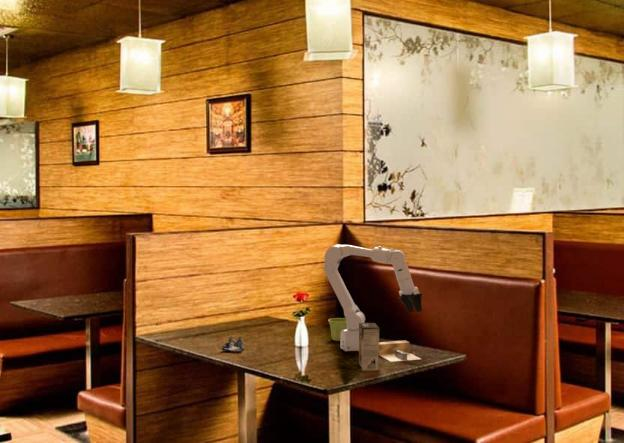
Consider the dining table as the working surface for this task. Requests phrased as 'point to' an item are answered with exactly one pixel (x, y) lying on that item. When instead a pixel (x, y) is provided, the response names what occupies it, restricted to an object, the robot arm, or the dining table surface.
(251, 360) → the dining table surface
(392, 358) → the serving board
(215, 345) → the dining table surface
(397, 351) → the fulcrum strip
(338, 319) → the plant pot
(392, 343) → the oak bar
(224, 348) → the grey irregular piece
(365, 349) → the coffee box
